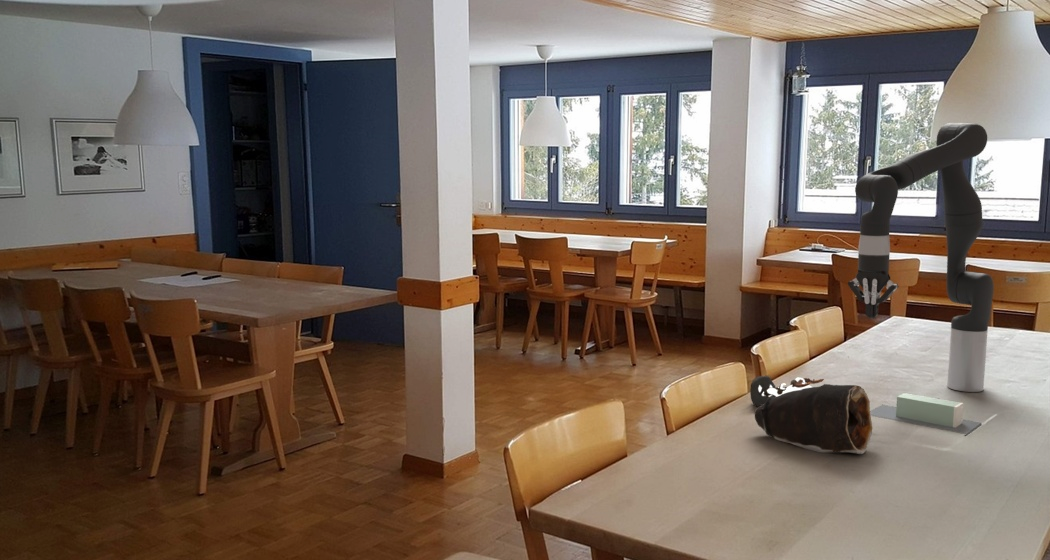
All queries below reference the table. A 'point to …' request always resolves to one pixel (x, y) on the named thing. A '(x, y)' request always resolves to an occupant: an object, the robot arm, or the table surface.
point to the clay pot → (819, 418)
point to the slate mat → (890, 413)
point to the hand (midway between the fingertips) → (871, 317)
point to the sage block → (929, 409)
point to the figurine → (775, 388)
